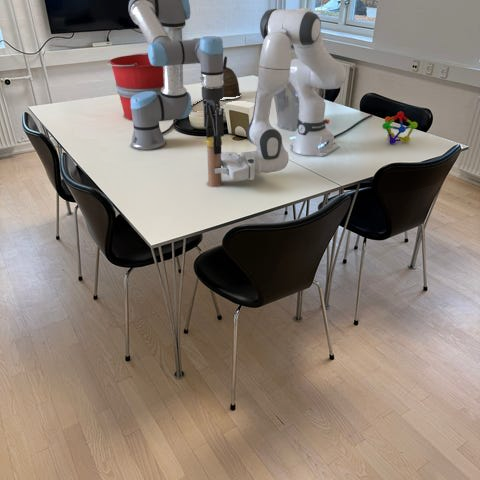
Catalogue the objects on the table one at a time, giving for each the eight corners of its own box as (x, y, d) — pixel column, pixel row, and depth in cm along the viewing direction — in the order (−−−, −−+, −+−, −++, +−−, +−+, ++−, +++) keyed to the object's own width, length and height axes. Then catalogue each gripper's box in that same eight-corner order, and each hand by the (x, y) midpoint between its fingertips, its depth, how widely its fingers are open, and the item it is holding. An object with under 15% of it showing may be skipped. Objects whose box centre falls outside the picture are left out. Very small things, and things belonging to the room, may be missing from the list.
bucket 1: (123, 105, 263) (116, 51, 247) (182, 106, 262) (179, 52, 247) (107, 123, 234) (97, 63, 218) (173, 124, 233) (168, 64, 217)
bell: (227, 105, 294) (202, 96, 282) (238, 66, 289) (213, 55, 277) (243, 108, 280) (217, 98, 268) (255, 66, 275) (229, 55, 263)
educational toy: (377, 146, 209) (379, 114, 202) (384, 138, 219) (386, 107, 211) (411, 149, 202) (415, 116, 195) (417, 141, 212) (420, 109, 204)
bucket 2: (296, 138, 215) (301, 78, 201) (255, 124, 234) (256, 68, 219) (335, 125, 232) (342, 70, 217) (294, 113, 251) (297, 61, 236)
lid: (217, 140, 166) (217, 135, 165) (225, 145, 162) (225, 140, 161) (203, 143, 163) (202, 138, 162) (210, 148, 159) (210, 143, 158)
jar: (223, 185, 170) (223, 142, 161) (211, 187, 168) (209, 144, 159) (218, 180, 174) (217, 138, 165) (206, 182, 172) (205, 139, 163)
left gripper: (192, 81, 157) (195, 144, 170) (212, 93, 143) (214, 161, 155) (212, 79, 160) (214, 141, 172) (233, 91, 146) (233, 157, 158)
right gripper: (239, 146, 177) (205, 150, 174) (255, 165, 161) (218, 169, 157) (239, 161, 180) (206, 165, 177) (255, 181, 164) (219, 185, 160)
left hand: (214, 150), depth 164 cm, fingers closed on lid, 6 cm apart
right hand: (212, 167), depth 167 cm, fingers closed on jar, 5 cm apart
